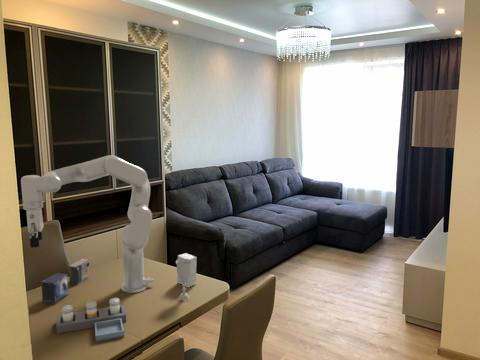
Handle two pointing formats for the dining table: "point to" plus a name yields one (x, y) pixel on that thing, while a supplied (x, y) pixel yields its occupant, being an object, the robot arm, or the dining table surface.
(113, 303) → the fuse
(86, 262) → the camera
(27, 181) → the robot arm
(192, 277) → the skincare box
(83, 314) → the fuse block
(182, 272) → the chalice
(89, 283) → the dining table surface
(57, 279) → the small box
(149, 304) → the dining table surface
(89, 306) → the white striped cylinder
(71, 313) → the fuse
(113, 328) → the tray
